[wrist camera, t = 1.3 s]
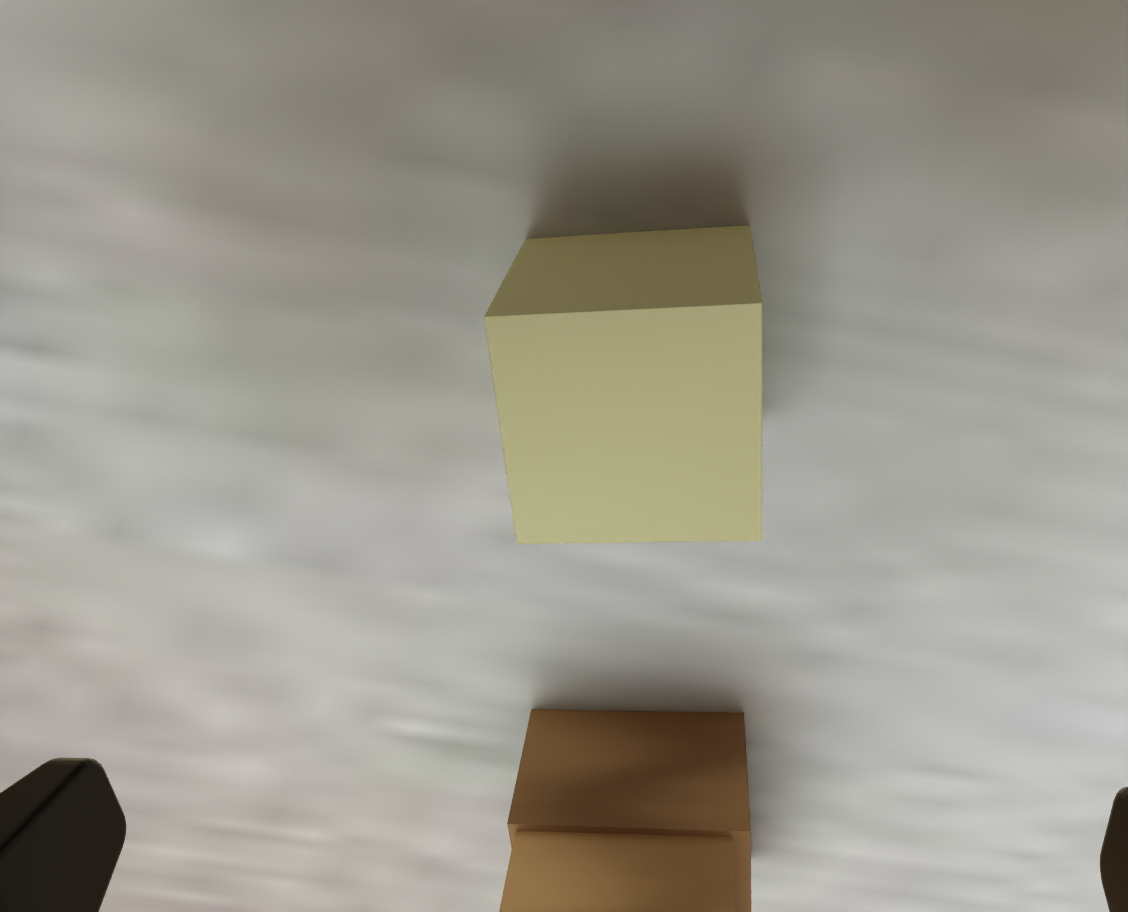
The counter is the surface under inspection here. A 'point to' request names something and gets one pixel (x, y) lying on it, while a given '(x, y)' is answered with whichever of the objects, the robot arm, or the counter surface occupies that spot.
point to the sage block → (631, 386)
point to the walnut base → (637, 778)
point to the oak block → (619, 873)
